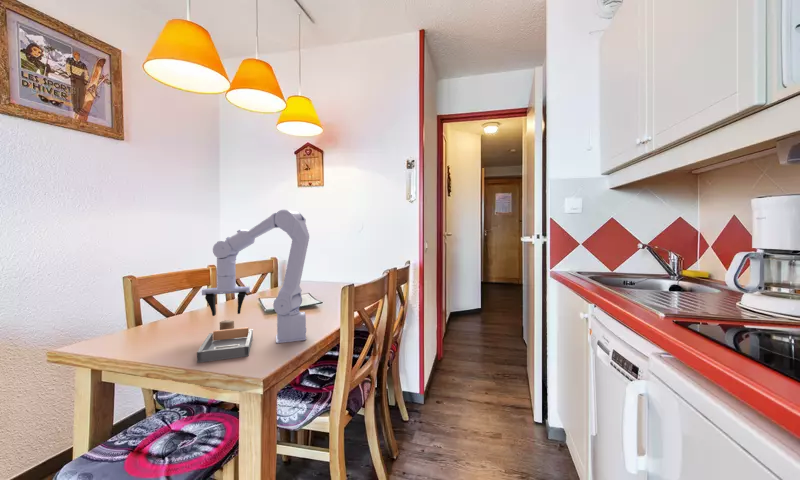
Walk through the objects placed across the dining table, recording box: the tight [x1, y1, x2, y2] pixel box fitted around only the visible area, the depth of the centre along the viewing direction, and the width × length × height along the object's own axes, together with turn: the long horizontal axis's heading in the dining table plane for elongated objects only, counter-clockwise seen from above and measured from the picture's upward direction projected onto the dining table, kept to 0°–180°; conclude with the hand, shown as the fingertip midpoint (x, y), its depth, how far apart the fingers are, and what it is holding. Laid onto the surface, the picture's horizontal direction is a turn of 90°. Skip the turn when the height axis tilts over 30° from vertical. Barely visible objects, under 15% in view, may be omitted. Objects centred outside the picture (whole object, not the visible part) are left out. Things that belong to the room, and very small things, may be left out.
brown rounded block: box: [219, 319, 235, 330], centre depth 109 cm, size 4×4×5 cm
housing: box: [196, 328, 254, 364], centre depth 97 cm, size 13×17×3 cm
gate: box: [212, 326, 249, 341], centre depth 105 cm, size 10×1×3 cm, turn 112°
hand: (226, 314), depth 109 cm, fingers open, 7 cm apart
